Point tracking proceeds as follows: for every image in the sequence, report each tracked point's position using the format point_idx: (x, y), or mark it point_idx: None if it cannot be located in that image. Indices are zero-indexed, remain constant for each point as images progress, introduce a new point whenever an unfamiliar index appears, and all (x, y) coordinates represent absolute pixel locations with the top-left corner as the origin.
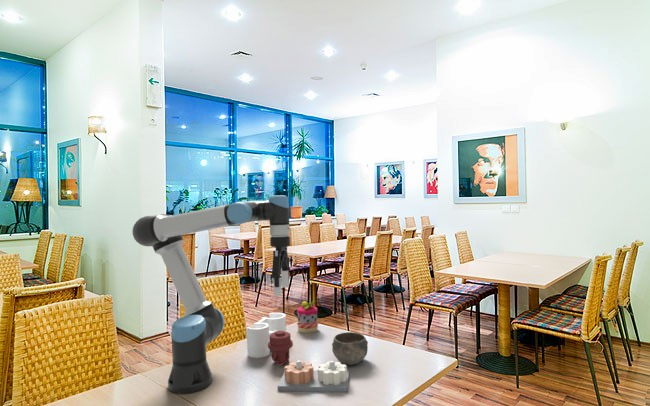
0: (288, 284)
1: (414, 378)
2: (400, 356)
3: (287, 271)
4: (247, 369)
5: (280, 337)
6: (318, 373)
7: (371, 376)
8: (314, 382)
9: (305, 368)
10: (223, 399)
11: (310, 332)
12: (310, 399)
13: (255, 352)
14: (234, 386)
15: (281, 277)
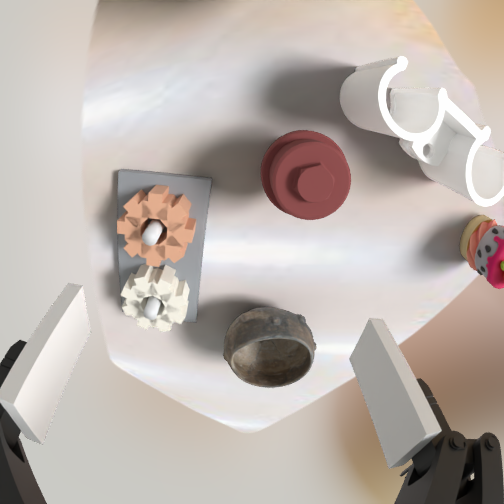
0: (360, 374)
1: (184, 394)
2: (275, 393)
3: (390, 464)
4: (257, 69)
5: (280, 184)
6: (142, 272)
7: (190, 349)
8: (138, 254)
9: (144, 248)
10: (91, 54)
11: (460, 244)
12: (90, 241)
13: (346, 87)
14: (151, 56)
15: (403, 382)
